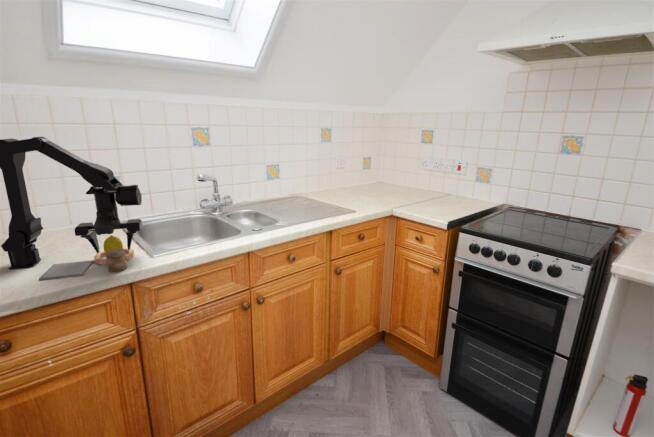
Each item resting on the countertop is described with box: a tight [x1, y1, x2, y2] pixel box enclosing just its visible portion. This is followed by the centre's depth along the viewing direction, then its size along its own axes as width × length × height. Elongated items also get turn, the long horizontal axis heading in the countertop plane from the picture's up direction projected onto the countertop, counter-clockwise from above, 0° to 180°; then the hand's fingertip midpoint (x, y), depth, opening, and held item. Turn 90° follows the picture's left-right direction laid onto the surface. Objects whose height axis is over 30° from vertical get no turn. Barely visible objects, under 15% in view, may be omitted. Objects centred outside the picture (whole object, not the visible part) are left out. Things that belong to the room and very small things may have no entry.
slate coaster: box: [38, 259, 94, 281], centre depth 110 cm, size 11×11×1 cm
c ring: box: [93, 247, 135, 265], centre depth 120 cm, size 11×11×2 cm
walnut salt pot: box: [105, 249, 128, 273], centre depth 110 cm, size 5×5×6 cm
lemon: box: [103, 234, 124, 253], centre depth 119 cm, size 6×6×8 cm
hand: (113, 251), depth 120 cm, fingers open, 9 cm apart
